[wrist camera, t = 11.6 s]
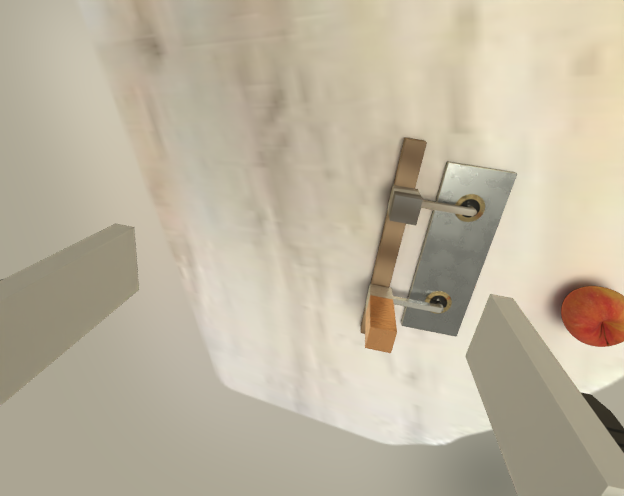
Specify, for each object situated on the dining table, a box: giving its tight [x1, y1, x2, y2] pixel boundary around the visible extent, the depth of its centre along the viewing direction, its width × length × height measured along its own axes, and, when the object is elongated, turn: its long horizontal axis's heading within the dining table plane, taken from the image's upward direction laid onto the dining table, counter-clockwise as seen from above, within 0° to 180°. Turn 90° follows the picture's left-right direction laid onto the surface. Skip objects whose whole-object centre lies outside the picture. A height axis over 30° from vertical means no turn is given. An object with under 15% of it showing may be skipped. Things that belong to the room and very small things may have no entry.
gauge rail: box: [361, 137, 477, 334], centre depth 45 cm, size 28×10×7 cm, turn 172°
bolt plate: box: [401, 162, 517, 336], centre depth 47 cm, size 24×8×1 cm, turn 172°
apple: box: [561, 286, 624, 347], centre depth 44 cm, size 7×7×8 cm
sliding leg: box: [365, 284, 444, 353], centre depth 45 cm, size 3×10×11 cm, turn 82°
